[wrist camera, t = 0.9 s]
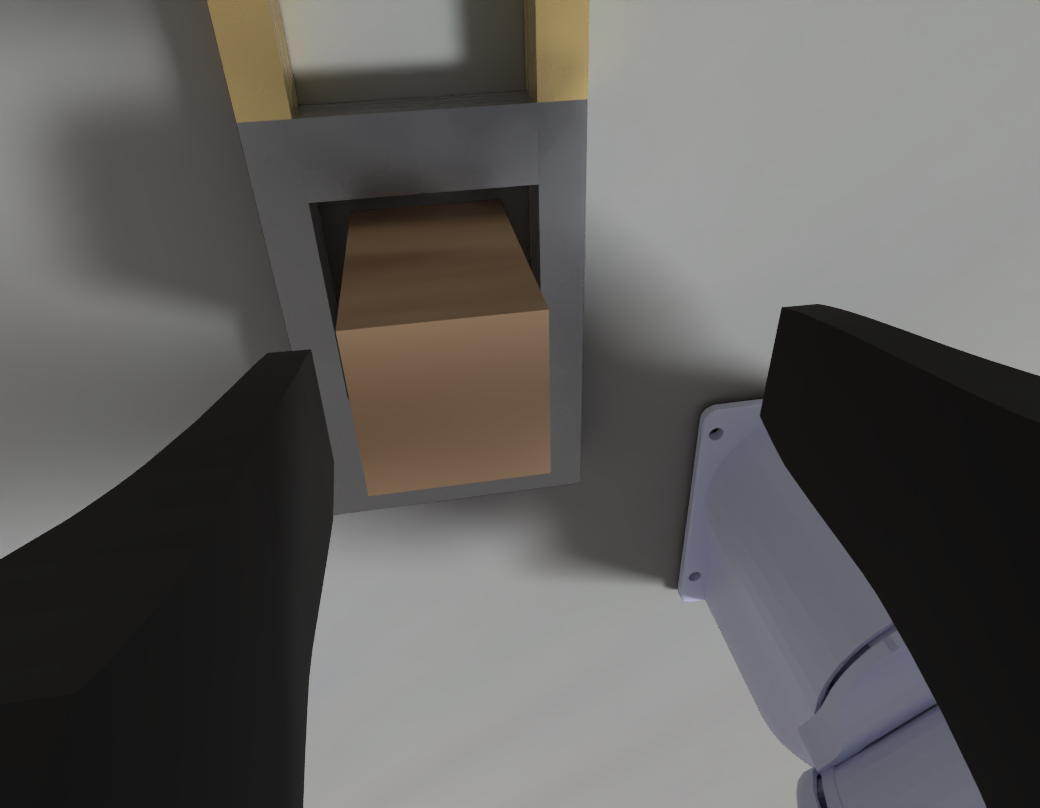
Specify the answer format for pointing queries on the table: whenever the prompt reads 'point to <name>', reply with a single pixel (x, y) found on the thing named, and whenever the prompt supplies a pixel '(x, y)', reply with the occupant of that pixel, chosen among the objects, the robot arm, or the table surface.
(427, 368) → the walnut block
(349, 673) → the table surface
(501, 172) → the tray
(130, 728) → the robot arm
